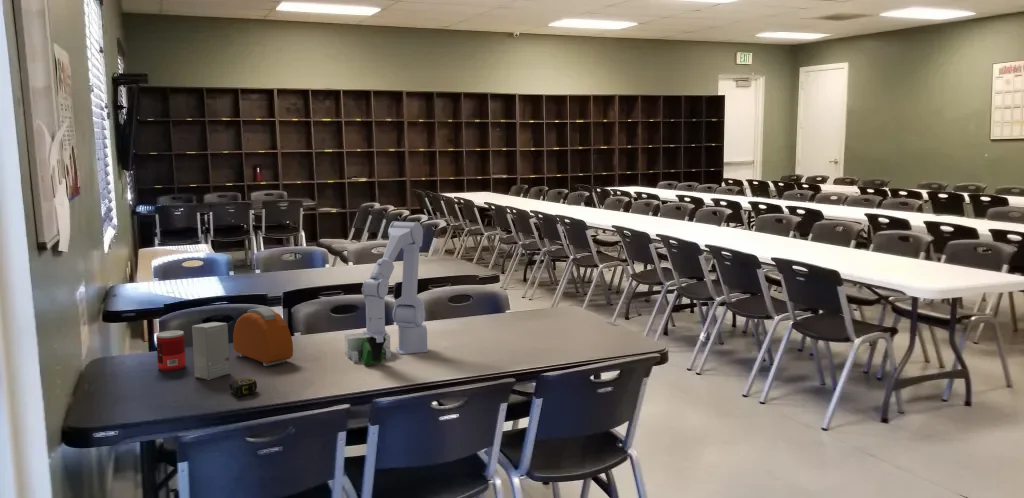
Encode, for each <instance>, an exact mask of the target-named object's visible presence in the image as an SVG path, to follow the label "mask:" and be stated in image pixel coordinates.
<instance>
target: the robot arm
mask: <svg viewBox="0 0 1024 498" xmlns="http://www.w3.org/2000/svg"><path fill="white" fill-rule="evenodd" d="M423 230H424V229H423V227H422V225H421V224H420V222H418V221H416V222H414V221H413V222H412V221H411V222H410V221H397V220H393V221H392V222H391V223H390V225H389V227H388V230H387V235H388V238H389V239H388V242H387V244H386V247H385V250H384V253H383V256H382V258H380V259H378V260H377V261H376V263H375V265H374V267H373V270H372V272H371V274H370V276H369V278H367V279H365V280H364V281H363V284H362V287H361V295H363V301H364V303H365V318H366V319H365V320H366V322H365V323H366V325H365V326H366V329H365V330H364V331H362V333H363V334H364V335H369V336H371V337H366V339H367V341H368V343H369V346H370V350H371V355H372V358H373V360H380V358H381V353H382V348H383V345H384V343H385V341H386V338H385V336H384V335H385V333H386V331H387V330H386V314H385V313H386V312H385V311H386V310H385V309H386V308H385V305H386V304H385V298H386V296H387V295H388V292H389V285H390V279H391V276H392V275H393V272H394V269H395V265H394V262H395V259H396V258H397V256H398V254H399V253H400V250H401V249H402V250H403V259H402V260H403V261H402V262H403V263H402V278H401V279H402V283H401V296H400V297H399V298H398V299H396V300H395V301H394V308H393V310H392V320H393V322H394V323H395V324H396V326H397V328H398V330H397V331H398V346H397V347H395V349H396V351H397V352H398V353H399V354H400V355H407V354H408V355H409V354H418V353H428V352H429V351H428V329H427V326H426V324H425V323H424V322H425V318H426V311H425V302H424V301H423V300H422V299H421V298H419V297H418V285H419V284H418V280H419V261H420V247H422V246H423V239H424V237H423V236H424V231H423Z"/></svg>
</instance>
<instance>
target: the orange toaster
mask: <svg viewBox="0 0 1024 498" xmlns="http://www.w3.org/2000/svg"><path fill="white" fill-rule="evenodd" d="M232 333H233V334H232V342H233V349H234V351H235V352H236V353H237V354H238V355H239V357H240V358H242V357H243V358H244V357H247V358H250V359H253V360H255V361H258V362H261V363H262V364H263V366H264V367H267V366H272V365H277V364H280V363H281V362H282V363H286V362H287V361H288V360H290V359H291V358H292V357H293V356H294V355H293V354H294V344H293V338H292V335H291V332H290V329H289V325H288V323H287V322H286V321H285V319H284V318H283V317H282V315H281V314H279V313H278V312H276V311H274V310H271V309H269V308H267V307H258V308H251V309H248V310H247V313H243V314H242V315H241V316H240V317H238V319H237V320H236V323H235V325H234V327H233V332H232ZM285 361H286V362H285ZM276 363H277V364H276ZM282 363H281V364H282Z"/></svg>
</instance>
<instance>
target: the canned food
mask: <svg viewBox="0 0 1024 498" xmlns="http://www.w3.org/2000/svg"><path fill="white" fill-rule="evenodd" d="M155 338H156V341H155V342H156V354H157V355H156V357H157V368H158V370H159V371H162V372H172V371H177V370H180V369H181V370H182V369H183V368H185V367H186V364H187V363H186V345H185V343H186V342H185V333H184V330H174V329H173V330H165V331H160V332H158V333H156V335H155Z"/></svg>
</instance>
